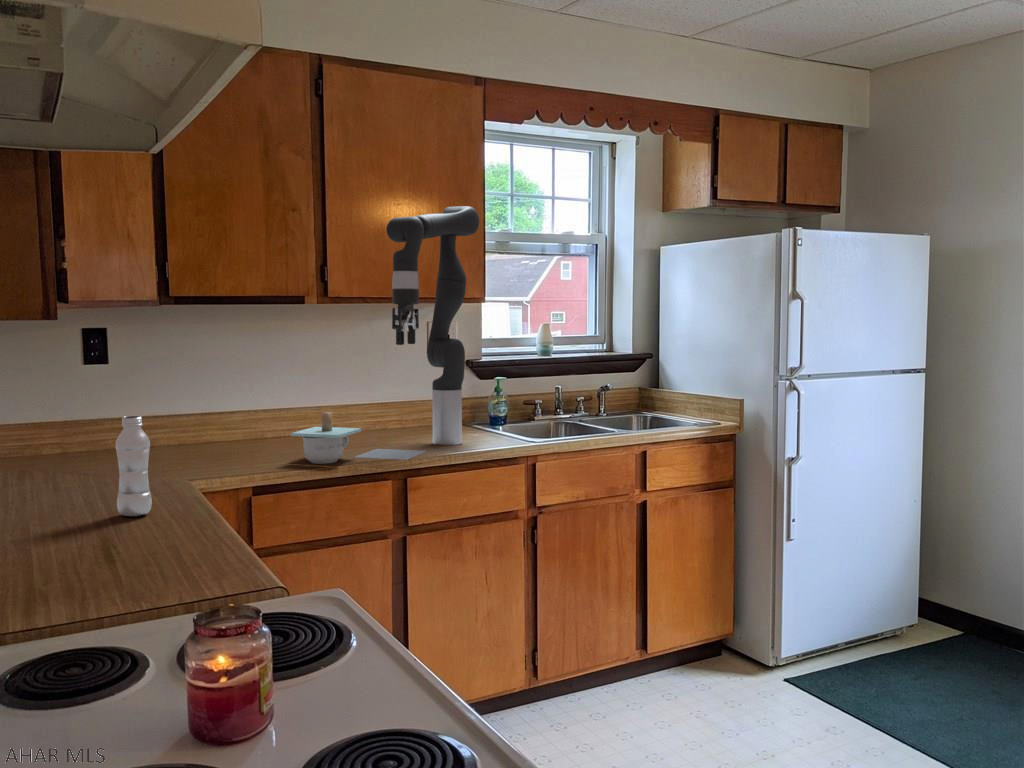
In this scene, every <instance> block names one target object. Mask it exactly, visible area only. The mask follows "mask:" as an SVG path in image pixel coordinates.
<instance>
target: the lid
mask: <svg viewBox="0 0 1024 768" xmlns="http://www.w3.org/2000/svg"><path fill="white" fill-rule="evenodd" d="M320 416H321V418H320V419H321V426H313V427H308V428H306V429H301V430H297V431H294V432H290V433H291V434H290V437H302V438H303V437H325V438H341V437H342V438H344V436H347V435H348V436H350V435H353V434H356V433H357V434H358V433H360V432H362V428H361V427H358V428H357V427H356V428H355V427H339V426H338V427H334V426H333V412H332V411H322V412H321V415H320Z"/></svg>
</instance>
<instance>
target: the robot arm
mask: <svg viewBox="0 0 1024 768" xmlns="http://www.w3.org/2000/svg"><path fill="white" fill-rule="evenodd" d="M477 211H478V210H476V209H475V208H474V207H472V206H468V205H467V206H466V205H465V206H464V205H462V206H447V207H446V208H444V209H443V211H442V213H426V214H418V215H415V216H401V217H393V218H392V219H390V220H389V221H388V223H387V225H386V229H385V230H386V231H385V232H386V235H387V237H388V238H389V239H390V240H391V241H392V242H394V243H405V245H404V247H403V248H402V249H399V250H397V251H395V252H393V255H392V271H393V272H392V278H391V279H392V280H391V281H392V283H391V285H392V289H391V290H392V291H391V292H392V293H391V295H392V299H391V301H392V304H393V305H397V307H392V309H391V310H392V314H391V315H392V316H391V317H392V318H391V329H392V330H394V331H395V344H396V345H397V346H403V345H405V332H404V331H405V328H406V330H407V331H406V332H407V344H408V345H415V344H416V332H417V330H419V328H420V324H419V322H420V320H419V308H417V307H414V305H418V304H420V292H419V291H420V289H419V288H420V286H419V285H420V282H419V281H420V279H419V264H418V263H419V262H418V261H419V260H418V259H419V254H420V251H421V245H422V242H423V240H427V239H432V238H437V237H439V239H440V243H439V244H440V245H439V246H440V247H439V250H440V251H439V261H438V271H437V276H436V278H437V279H436V287H435V300H434V307H433V316H432V322H431V326H430V327H431V328H430V332H429V337H428V342H427V348H426V357H427V361H428V363H429V364H430V365H431V367H433V368H442V370H443V371H442V374H441V376H439V377H438V378H436V379H434V380H433V381H432V383H431V385H432V387H431V388H432V390H431V391H432V392H431V393H432V398H431V399H432V444H433V445H440V446H441V445H443V446H452V445H453V446H455V445H456V446H457V445H462V443H463V441H462V440H463V439H462V438H463V437H462V436H463V435H462V433H463V432H462V431H463V429H462V428H463V425H462V424H463V422H462V421H463V417H462V415H463V410H462V409H463V403H462V401H463V400H462V399H463V398H462V397H463V395H462V394H463V393H462V390H463V389H462V388H463V382H464V379H465V365H466V350H465V347H464V344H463V342H462V341H461V340H460V339H458V338H450V337H449V332H450V327H451V324H452V321H453V319H454V317H455V316H456V315H457V313H458V311H459V310H460V309H461V307H462V305H463V302H464V300H465V296H466V290H467V289H466V288H467V276H466V275H467V274H466V272H465V269H464V268H463V266H462V263H461V260H459V257H458V254H457V250H456V249H457V245H456V244H457V243H456V242H457V237H467V236H471V235H474V234H475V233H476V232H477V231H478V229H479V228H480V227H479V226H480V216H479V213H478V212H477Z"/></svg>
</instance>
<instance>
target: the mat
mask: <svg viewBox="0 0 1024 768" xmlns="http://www.w3.org/2000/svg"><path fill="white" fill-rule="evenodd" d="M426 452H427V450H415V449H414V450H412V449H394V448H391V449H390V448H389V449H388V448H375V449H373V450H370V451H367V452H364V453H361V454H359V455H355V456H354V458H359V459H379V460H380V459H381V460H396V461H397V460H398V461H400V460H401V461H402V460H403V461H408V460H409V459H412V458H415V457H417V456H419V455H421V454H423V453H426Z"/></svg>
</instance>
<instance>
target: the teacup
mask: <svg viewBox="0 0 1024 768" xmlns="http://www.w3.org/2000/svg"><path fill="white" fill-rule="evenodd" d="M302 439H303V444H302V445H303V453H304V456H305V459H306V460H307V461H308V462H309V463H311V464H319V465H320V464H321V465H323V464H324V465H325V464H333V463H337V461H338V460H339V459H340V458H341V457H342V456H343V452H344V449H345V448H346V447H347V446H348V443H349V441H350V437H349V435H347V436H344V437H341V438H325V437H302Z"/></svg>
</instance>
